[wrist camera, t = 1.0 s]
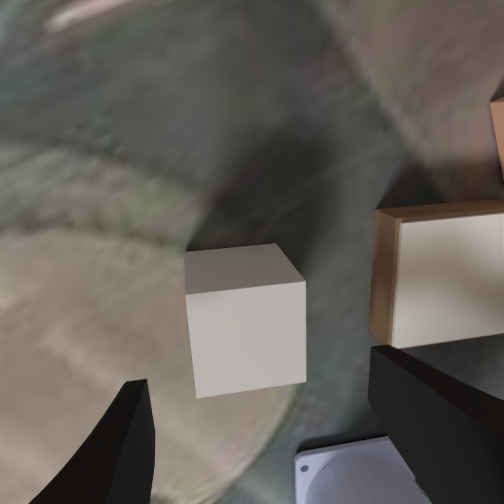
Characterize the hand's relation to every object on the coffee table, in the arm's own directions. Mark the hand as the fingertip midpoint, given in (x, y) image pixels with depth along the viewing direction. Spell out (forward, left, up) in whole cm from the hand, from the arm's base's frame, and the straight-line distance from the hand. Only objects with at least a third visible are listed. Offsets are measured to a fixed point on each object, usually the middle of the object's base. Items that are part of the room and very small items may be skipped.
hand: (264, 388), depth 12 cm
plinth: (0, -11, -8) cm, 14 cm away
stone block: (0, 0, -8) cm, 8 cm away
